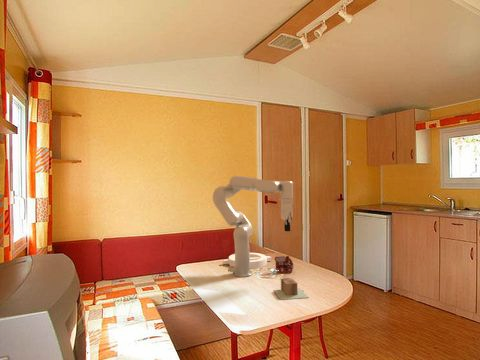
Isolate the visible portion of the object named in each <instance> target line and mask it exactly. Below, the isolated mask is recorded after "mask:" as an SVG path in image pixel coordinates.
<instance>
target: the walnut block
mask: <svg viewBox="0 0 480 360" xmlns="http://www.w3.org/2000/svg"><path fill="white" fill-rule="evenodd" d="M297 288H298V282H297V281H296V280H294V278H292V277H281V278H280V290H282V291H283V292H284V293H285V295H286V296H289V295H298V291H297Z"/></svg>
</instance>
